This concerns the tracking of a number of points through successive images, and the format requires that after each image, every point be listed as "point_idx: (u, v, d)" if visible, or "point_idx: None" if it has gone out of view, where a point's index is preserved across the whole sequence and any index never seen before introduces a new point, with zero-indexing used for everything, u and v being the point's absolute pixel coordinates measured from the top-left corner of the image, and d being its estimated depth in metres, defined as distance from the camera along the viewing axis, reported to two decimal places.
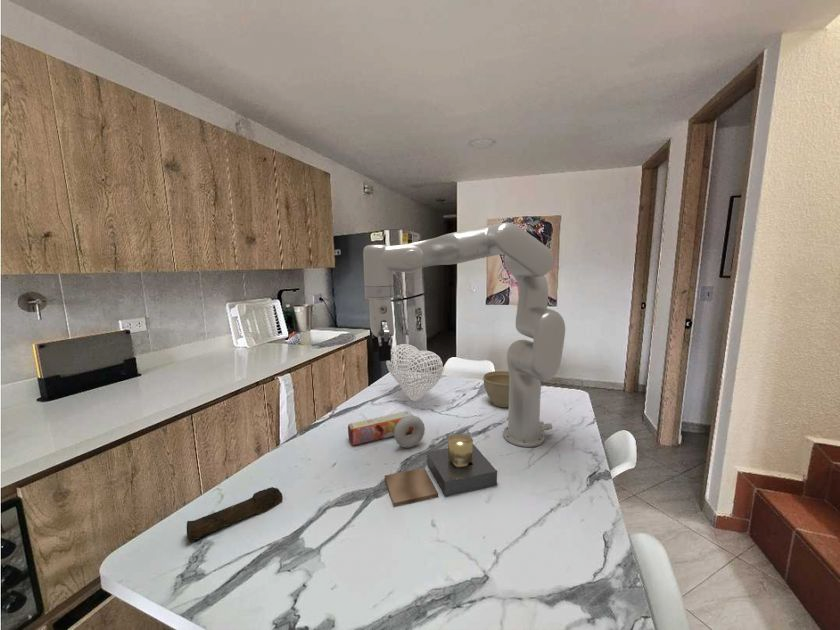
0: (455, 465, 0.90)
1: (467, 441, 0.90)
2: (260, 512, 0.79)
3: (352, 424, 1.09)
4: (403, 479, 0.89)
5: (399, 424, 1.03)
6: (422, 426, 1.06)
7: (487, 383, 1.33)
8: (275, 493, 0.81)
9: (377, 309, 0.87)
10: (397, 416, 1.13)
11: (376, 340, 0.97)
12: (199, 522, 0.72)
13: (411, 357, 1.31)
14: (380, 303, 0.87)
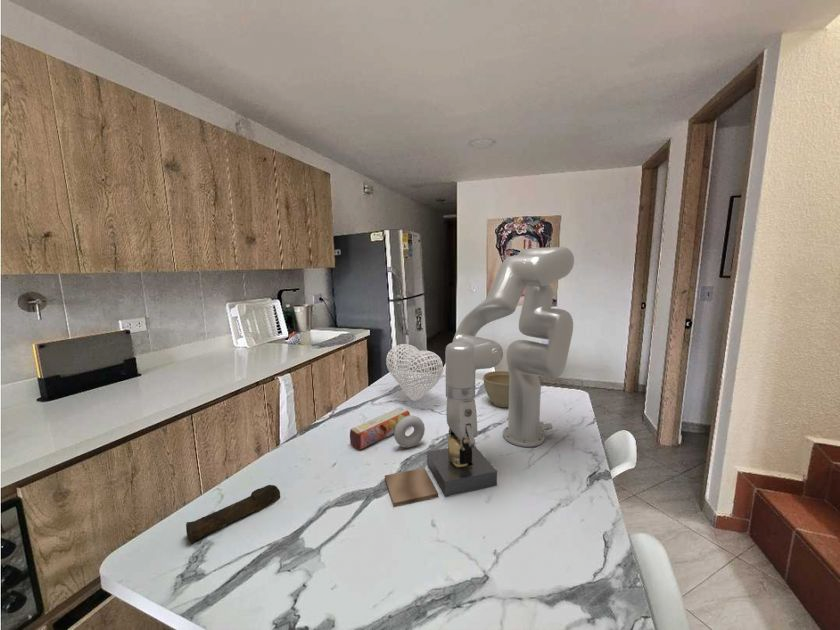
0: (455, 465, 0.90)
1: (467, 441, 0.90)
2: (259, 509, 0.80)
3: (356, 428, 1.06)
4: (403, 479, 0.89)
5: (399, 424, 1.03)
6: (422, 426, 1.06)
7: (487, 383, 1.33)
8: (273, 490, 0.82)
9: (462, 412, 0.84)
10: (394, 414, 1.15)
11: None
12: (200, 523, 0.72)
13: (411, 357, 1.31)
14: (465, 406, 0.84)
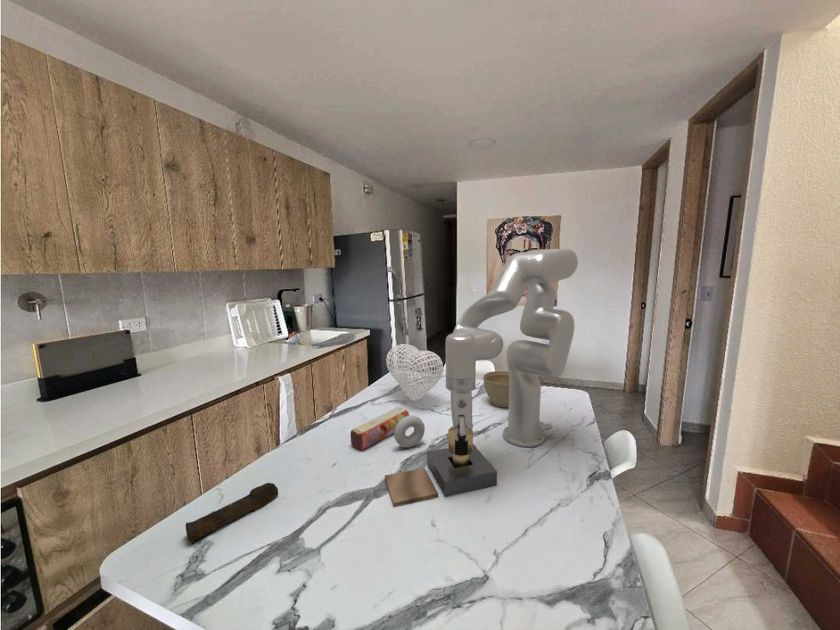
0: (453, 455, 0.90)
1: None
2: (258, 507, 0.80)
3: (357, 429, 1.06)
4: (403, 479, 0.89)
5: (399, 424, 1.03)
6: (422, 426, 1.06)
7: (487, 383, 1.33)
8: (272, 488, 0.83)
9: (455, 403, 0.84)
10: (394, 414, 1.15)
11: None
12: (200, 522, 0.72)
13: (411, 357, 1.31)
14: (459, 397, 0.84)
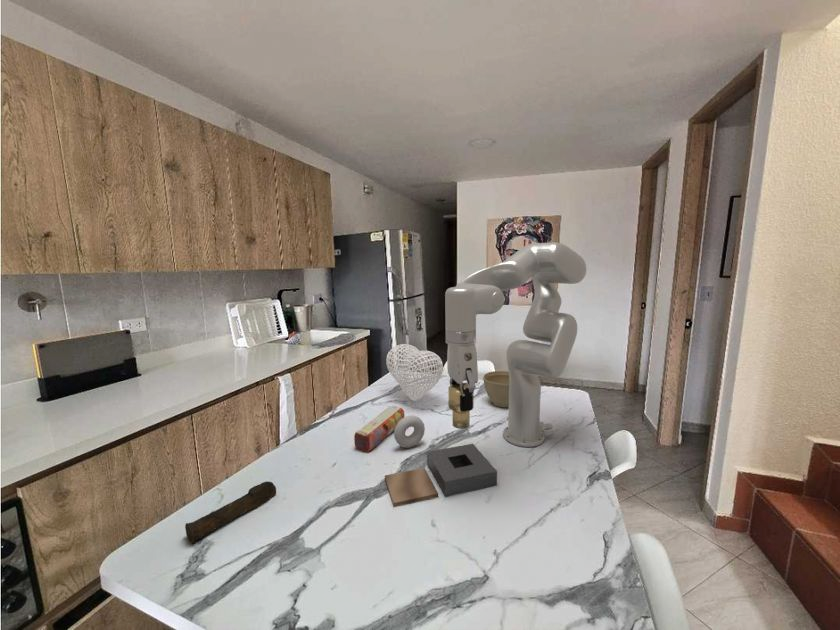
0: (455, 413, 0.88)
1: None
2: (257, 506, 0.81)
3: (362, 431, 1.04)
4: (403, 479, 0.89)
5: (399, 424, 1.03)
6: (422, 426, 1.06)
7: (487, 383, 1.33)
8: (270, 486, 0.83)
9: (462, 356, 0.82)
10: (391, 412, 1.16)
11: None
12: (200, 522, 0.72)
13: (411, 357, 1.31)
14: (465, 350, 0.82)
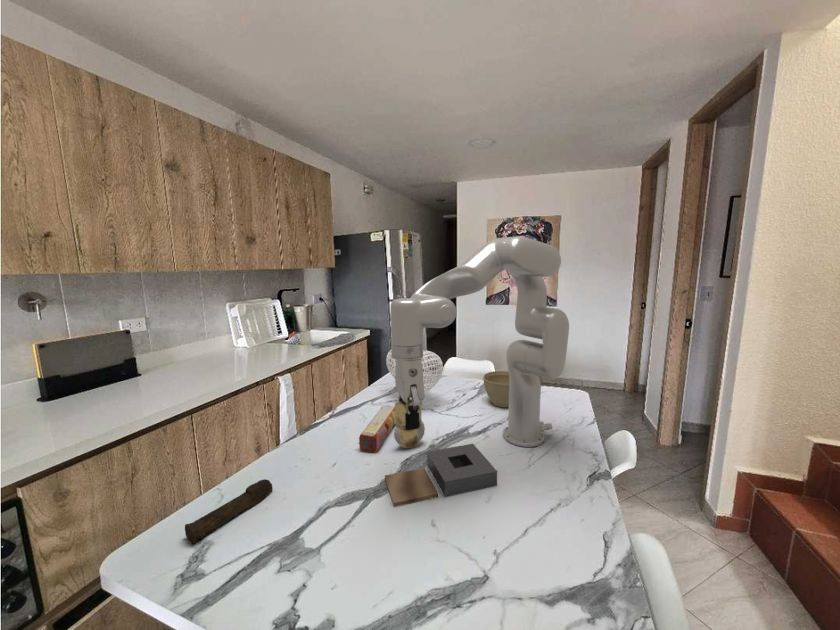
0: (402, 432, 0.83)
1: None
2: (255, 504, 0.81)
3: (367, 432, 1.04)
4: (403, 479, 0.89)
5: None
6: (422, 426, 1.06)
7: (487, 383, 1.33)
8: (267, 484, 0.84)
9: (406, 372, 0.77)
10: (387, 411, 1.17)
11: None
12: (200, 522, 0.72)
13: None
14: (410, 365, 0.78)
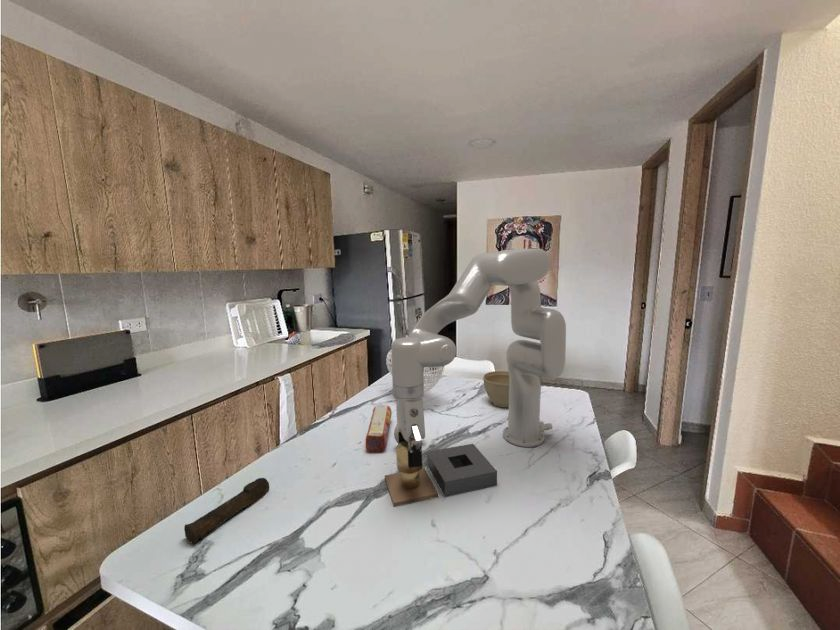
0: (403, 474, 0.85)
1: None
2: (253, 502, 0.82)
3: (374, 432, 1.03)
4: None
5: None
6: None
7: (487, 383, 1.33)
8: (264, 482, 0.85)
9: (407, 412, 0.79)
10: (383, 411, 1.17)
11: (403, 435, 0.89)
12: (200, 522, 0.72)
13: None
14: (411, 406, 0.79)
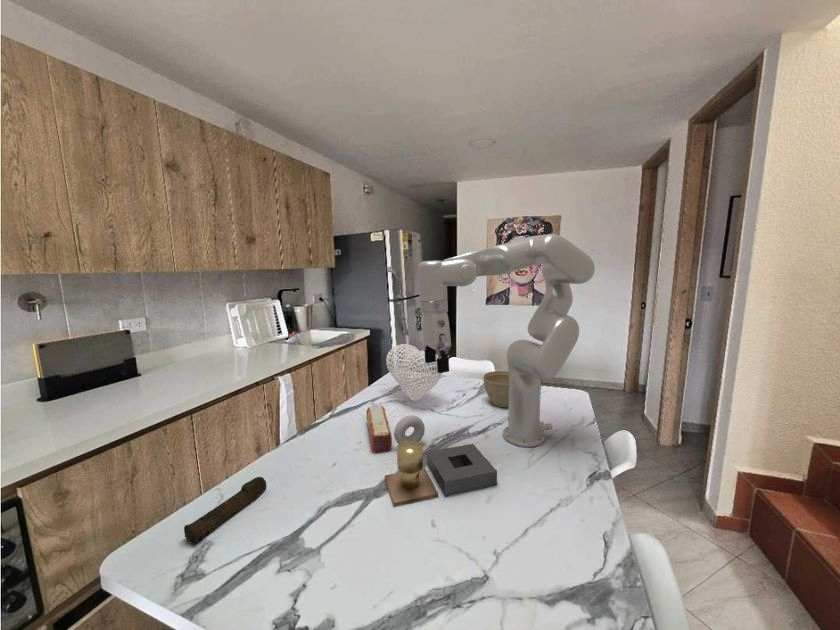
0: (404, 474, 0.85)
1: (416, 449, 0.84)
2: (251, 501, 0.82)
3: (380, 432, 1.03)
4: None
5: (399, 424, 1.03)
6: (422, 426, 1.06)
7: (487, 383, 1.33)
8: (262, 481, 0.85)
9: (435, 323, 0.90)
10: (380, 411, 1.18)
11: (429, 351, 1.00)
12: (200, 522, 0.72)
13: (411, 357, 1.31)
14: (438, 317, 0.90)
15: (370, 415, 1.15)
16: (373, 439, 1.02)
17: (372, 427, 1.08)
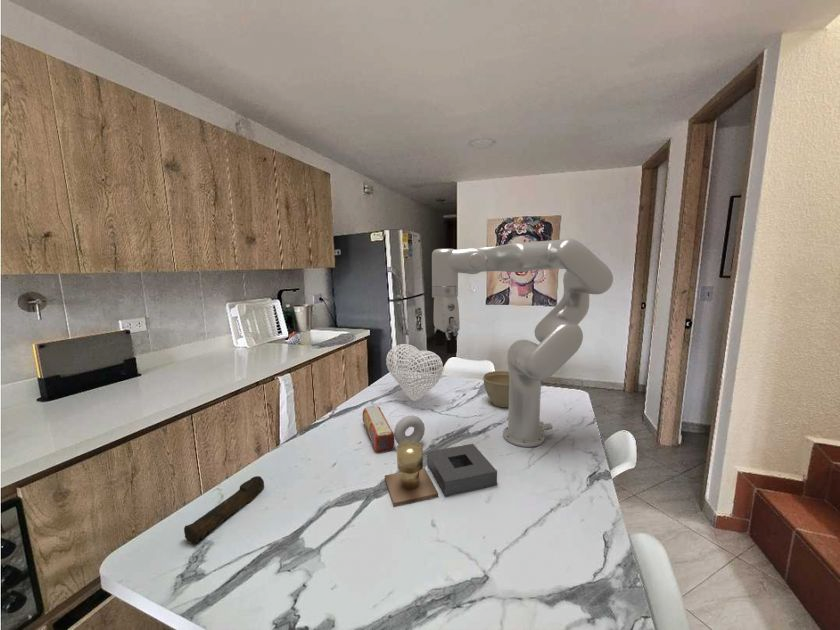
0: (404, 474, 0.85)
1: (416, 449, 0.84)
2: (250, 500, 0.83)
3: (383, 432, 1.04)
4: None
5: (399, 424, 1.03)
6: (422, 426, 1.06)
7: (487, 383, 1.33)
8: (260, 480, 0.86)
9: (446, 307, 0.96)
10: (377, 411, 1.17)
11: (438, 335, 1.07)
12: (201, 522, 0.72)
13: (411, 357, 1.31)
14: (448, 301, 0.96)
15: (368, 416, 1.15)
16: (376, 439, 1.02)
17: (373, 427, 1.07)
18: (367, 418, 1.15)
